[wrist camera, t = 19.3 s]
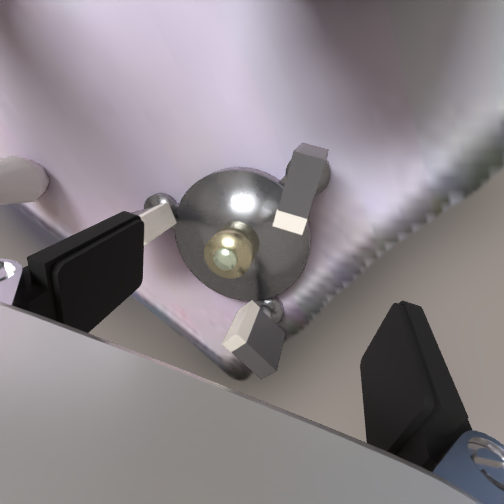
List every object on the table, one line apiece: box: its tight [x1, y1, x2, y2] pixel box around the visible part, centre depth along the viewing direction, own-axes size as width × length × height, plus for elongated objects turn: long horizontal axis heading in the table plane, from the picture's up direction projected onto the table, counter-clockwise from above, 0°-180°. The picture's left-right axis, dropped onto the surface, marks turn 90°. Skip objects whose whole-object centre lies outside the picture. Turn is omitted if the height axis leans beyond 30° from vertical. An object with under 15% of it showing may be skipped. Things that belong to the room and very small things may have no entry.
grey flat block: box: [132, 202, 177, 245], centre depth 32 cm, size 2×6×8 cm, turn 107°
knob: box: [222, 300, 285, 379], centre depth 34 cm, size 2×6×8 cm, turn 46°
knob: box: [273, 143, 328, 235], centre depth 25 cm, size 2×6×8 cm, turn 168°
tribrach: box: [144, 159, 330, 324], centre depth 33 cm, size 21×23×7 cm
